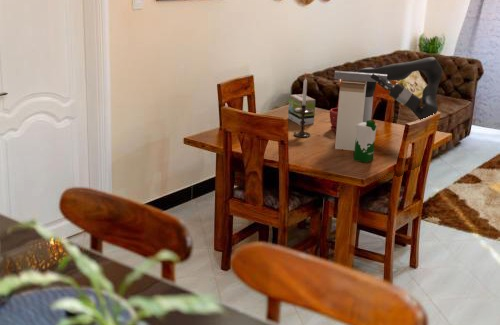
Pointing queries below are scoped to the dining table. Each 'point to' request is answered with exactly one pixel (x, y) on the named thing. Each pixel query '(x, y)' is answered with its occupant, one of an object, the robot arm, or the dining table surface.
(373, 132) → the milk carton
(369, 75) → the steel bar
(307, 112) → the candlestick
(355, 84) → the stand
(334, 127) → the plant pot
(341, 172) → the dining table surface
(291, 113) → the tea box
